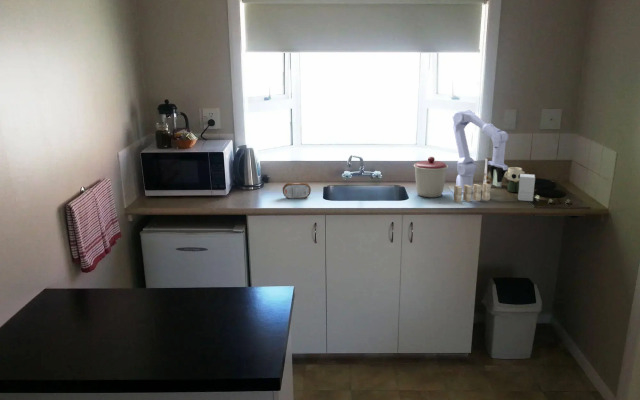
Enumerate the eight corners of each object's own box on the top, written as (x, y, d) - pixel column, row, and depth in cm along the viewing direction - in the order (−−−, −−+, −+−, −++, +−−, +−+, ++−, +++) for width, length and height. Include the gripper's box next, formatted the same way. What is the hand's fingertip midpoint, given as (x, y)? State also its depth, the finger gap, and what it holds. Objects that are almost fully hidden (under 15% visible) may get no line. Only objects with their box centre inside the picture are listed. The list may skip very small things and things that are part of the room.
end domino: (492, 184, 272) (493, 169, 270) (496, 184, 273) (497, 169, 270) (496, 186, 268) (497, 171, 266) (500, 186, 268) (501, 171, 266)
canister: (423, 201, 268) (424, 161, 263) (406, 192, 285) (407, 155, 279) (453, 197, 274) (455, 158, 268) (435, 189, 290) (437, 152, 285)
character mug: (505, 193, 281) (508, 170, 277) (500, 190, 288) (502, 167, 284) (525, 193, 282) (527, 169, 278) (520, 189, 288) (522, 166, 285)
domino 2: (462, 199, 270) (463, 184, 268) (466, 199, 271) (467, 184, 268) (467, 202, 266) (468, 186, 264) (470, 201, 266) (471, 186, 264)
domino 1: (453, 200, 269) (454, 185, 267) (456, 200, 269) (457, 185, 267) (457, 202, 265) (458, 187, 263) (461, 202, 265) (462, 187, 263)
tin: (310, 197, 279) (310, 181, 277) (311, 198, 276) (310, 183, 274) (282, 197, 278) (282, 182, 276) (282, 199, 275) (282, 184, 273)
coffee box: (485, 187, 294) (487, 159, 290) (483, 184, 300) (485, 157, 296) (501, 187, 293) (504, 159, 289) (499, 184, 299) (501, 157, 295)
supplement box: (532, 197, 272) (535, 174, 269) (532, 201, 265) (535, 177, 262) (517, 196, 275) (520, 173, 271) (517, 200, 268) (519, 176, 265)
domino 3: (472, 198, 271) (473, 184, 269) (475, 198, 272) (476, 183, 270) (476, 201, 267) (477, 186, 265) (480, 200, 268) (481, 185, 266)
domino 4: (481, 198, 273) (482, 183, 271) (485, 197, 273) (486, 183, 271) (486, 200, 269) (487, 185, 266) (489, 200, 269) (490, 185, 267)
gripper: (483, 153, 272) (482, 178, 275) (499, 158, 258) (497, 184, 262) (495, 152, 274) (493, 177, 277) (512, 157, 260) (509, 183, 264)
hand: (496, 180), depth 270 cm, fingers closed on end domino, 4 cm apart
